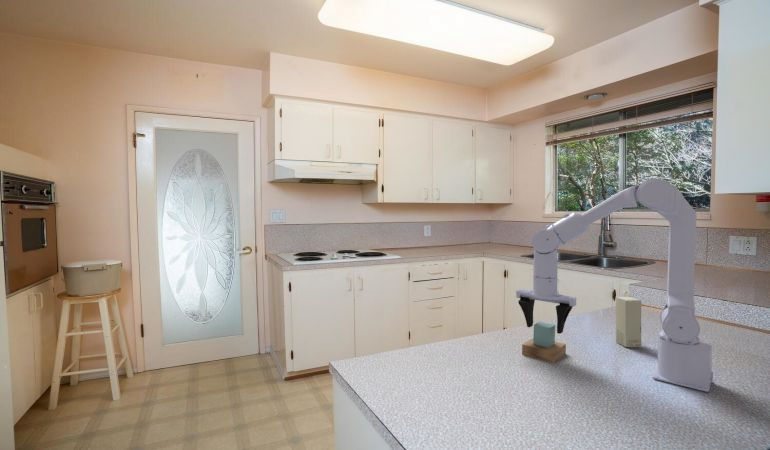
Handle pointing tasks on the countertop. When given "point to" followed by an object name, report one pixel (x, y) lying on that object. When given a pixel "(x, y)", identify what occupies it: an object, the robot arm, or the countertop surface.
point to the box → (628, 321)
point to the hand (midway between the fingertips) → (544, 329)
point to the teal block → (544, 334)
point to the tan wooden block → (544, 351)
